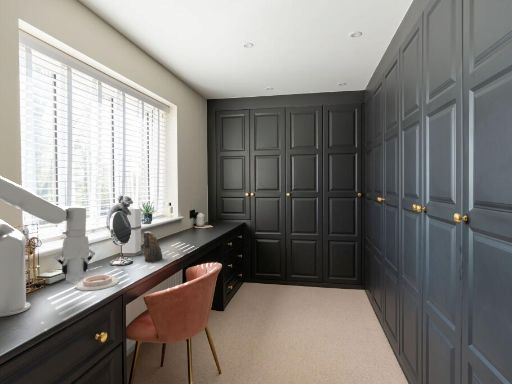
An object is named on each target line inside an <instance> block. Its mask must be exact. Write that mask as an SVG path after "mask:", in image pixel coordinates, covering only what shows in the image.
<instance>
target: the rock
mask: <svg viewBox="0 0 512 384" xmlns="http://www.w3.org/2000/svg"><path fill="white" fill-rule="evenodd" d="M143 239H144V241H143V247H142V250H143V255H144V262H145V263H155V262H158V261H161V260H164V258H163V254H162V249H161V247H160V243H159V242H158V239H157V236H155V235H154V233H153V232H151V231H150V230H148V231H144V232H143Z"/></svg>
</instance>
